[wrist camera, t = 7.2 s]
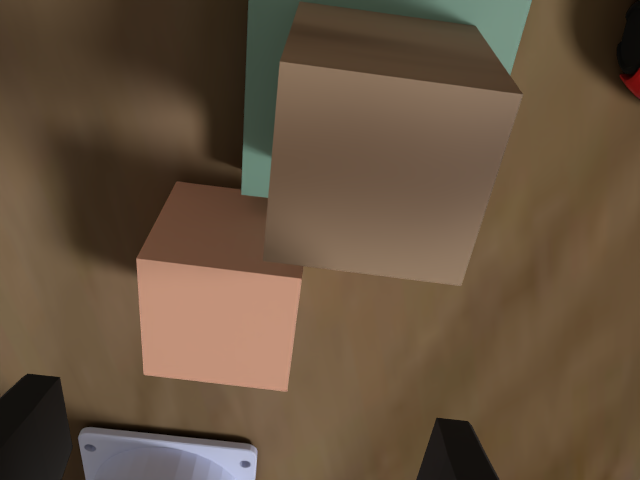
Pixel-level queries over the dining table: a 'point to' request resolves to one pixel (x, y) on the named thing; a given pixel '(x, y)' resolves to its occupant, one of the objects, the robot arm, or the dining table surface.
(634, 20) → the race car
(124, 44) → the dining table surface
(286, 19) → the base plate
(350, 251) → the walnut brick
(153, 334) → the terracotta brick
